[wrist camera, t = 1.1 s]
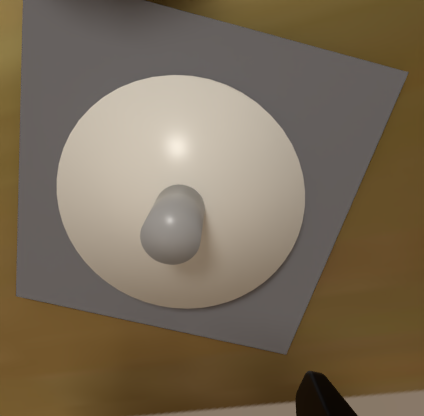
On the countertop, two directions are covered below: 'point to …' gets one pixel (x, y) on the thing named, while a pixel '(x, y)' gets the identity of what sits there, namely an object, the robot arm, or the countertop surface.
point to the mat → (205, 68)
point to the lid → (180, 191)
